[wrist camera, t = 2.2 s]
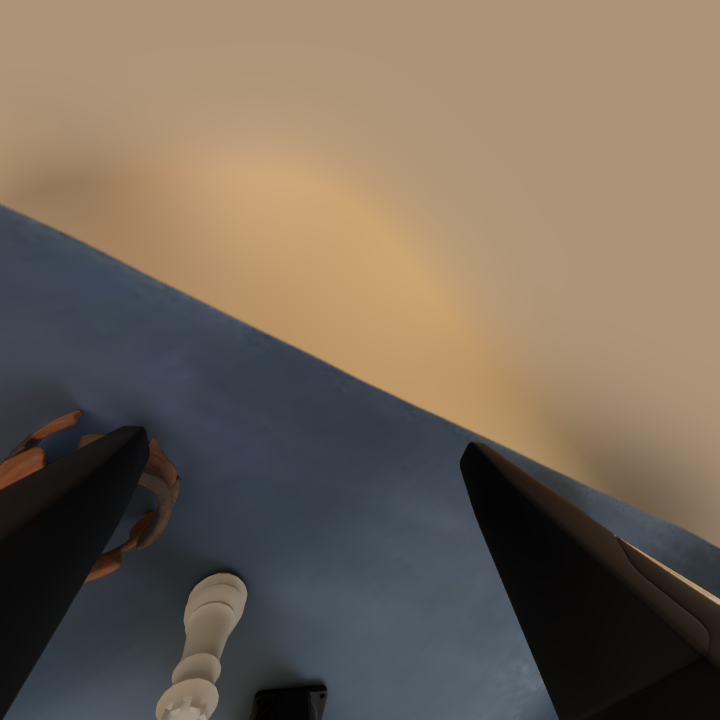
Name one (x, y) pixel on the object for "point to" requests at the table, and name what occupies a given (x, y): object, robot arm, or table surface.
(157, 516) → the brown curved piece
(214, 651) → the rook chess piece
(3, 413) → the table surface
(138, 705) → the table surface
